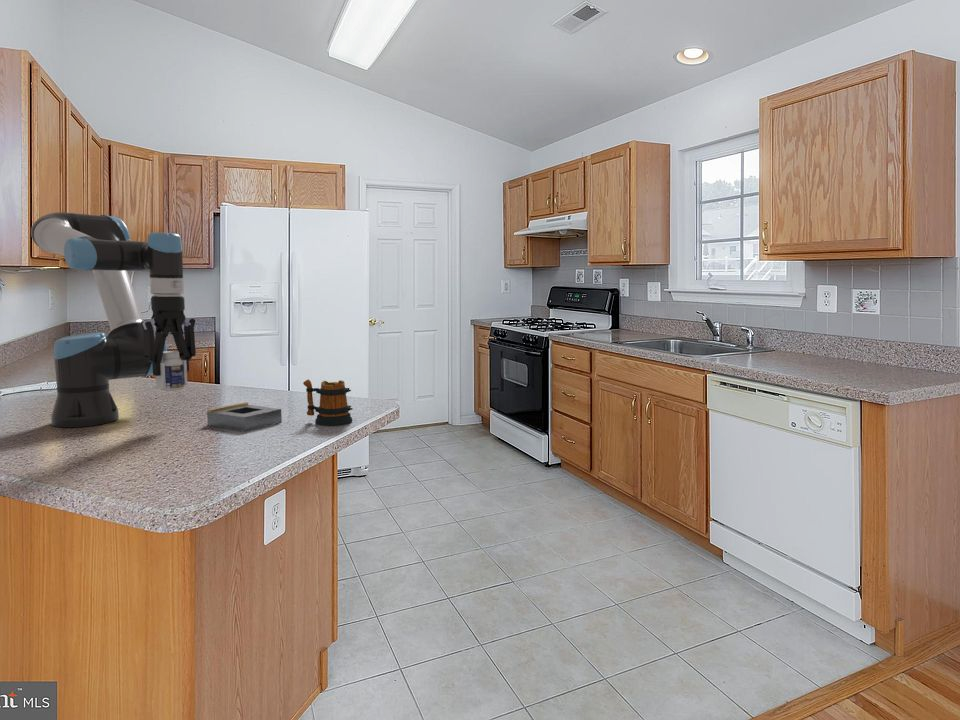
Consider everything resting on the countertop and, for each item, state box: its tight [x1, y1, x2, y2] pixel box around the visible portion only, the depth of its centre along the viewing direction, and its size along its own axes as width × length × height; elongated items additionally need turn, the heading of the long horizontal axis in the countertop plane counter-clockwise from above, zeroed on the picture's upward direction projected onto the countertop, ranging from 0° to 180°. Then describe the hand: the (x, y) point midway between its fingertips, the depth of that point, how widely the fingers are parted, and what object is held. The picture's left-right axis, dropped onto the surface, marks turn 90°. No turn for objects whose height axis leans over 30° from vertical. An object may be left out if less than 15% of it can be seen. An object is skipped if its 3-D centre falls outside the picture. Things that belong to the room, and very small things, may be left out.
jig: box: [206, 401, 283, 432], centre depth 162 cm, size 14×12×4 cm
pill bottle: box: [160, 350, 185, 392], centre depth 157 cm, size 5×5×10 cm
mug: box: [302, 379, 353, 427], centre depth 163 cm, size 13×10×12 cm
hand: (172, 386), depth 158 cm, fingers closed on pill bottle, 5 cm apart
